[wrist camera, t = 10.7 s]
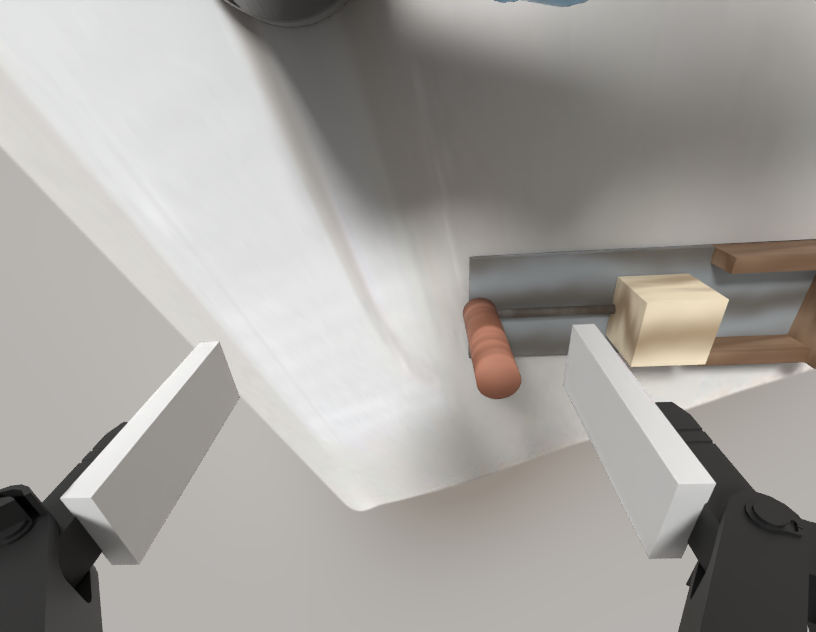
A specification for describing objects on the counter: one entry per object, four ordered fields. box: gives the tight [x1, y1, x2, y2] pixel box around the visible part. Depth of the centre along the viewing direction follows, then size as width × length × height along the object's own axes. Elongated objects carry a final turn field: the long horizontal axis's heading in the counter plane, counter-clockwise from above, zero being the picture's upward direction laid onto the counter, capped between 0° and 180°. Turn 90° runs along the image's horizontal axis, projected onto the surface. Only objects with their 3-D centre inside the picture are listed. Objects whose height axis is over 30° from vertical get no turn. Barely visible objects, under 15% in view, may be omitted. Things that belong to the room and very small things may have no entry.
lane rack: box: [469, 239, 816, 369], centre depth 40 cm, size 12×37×5 cm, turn 94°
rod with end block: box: [463, 273, 729, 399], centre depth 37 cm, size 7×23×12 cm, turn 94°
